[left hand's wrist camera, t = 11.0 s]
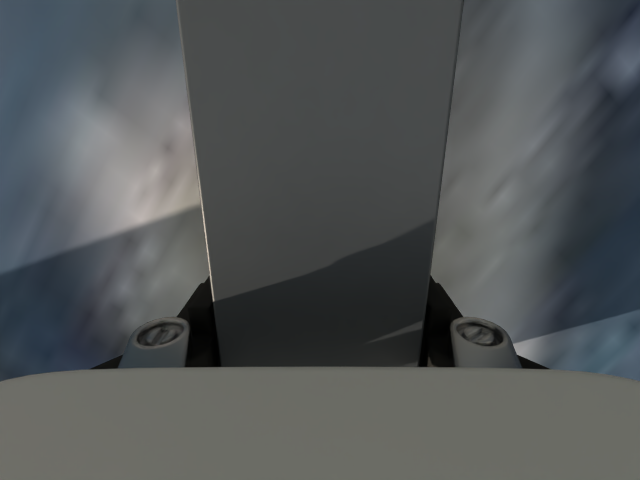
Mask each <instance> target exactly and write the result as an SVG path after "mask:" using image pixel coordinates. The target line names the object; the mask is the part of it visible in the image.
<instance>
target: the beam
mask: <svg viewBox="0 0 640 480" xmlns="http://www.w3.org/2000/svg"><path fill="white" fill-rule="evenodd" d="M463 3H464V0H176V6H177V14H178V22H179V30H180V38H181V46H182V55H183V63H184V71H185V79H186V87H187V95H188V103H189V111H190V119H191V128H192V136H193V144H194V152H195V160H196V168H197V176H198V184H199V193H200V201H201V209H202V217H203V225H204V233H205V241H206V249H207V257H208V266H209V274H210V282H211V290H212V298H213V306H214V314H215V322H216V330H217V339H218V347H219V355H220V363H221V367H419V361H420V353H421V345H422V336H423V328H424V320H425V312H426V304H427V296H428V288H429V280H430V271H431V263H432V255H433V247H434V239H435V231H436V223H437V215H438V206H439V198H440V190H441V182H442V174H443V166H444V158H445V149H446V141H447V133H448V125H449V117H450V109H451V101H452V93H453V84H454V76H455V68H456V60H457V52H458V44H459V36H460V27H461V19H462V11H463Z"/></svg>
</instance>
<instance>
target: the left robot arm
mask: <svg viewBox="0 0 640 480" xmlns="http://www.w3.org/2000/svg"><path fill="white" fill-rule="evenodd" d="M0 480H640V381H636V380H632V379H628V378H622V377H617V376H612V375H606V374H598V373H590V372H581V371H566V370H551V369H549V368H546V367H544V366H542V365H540V364H537V363H535V362H533V361H530V360H528V359H526V358H523V357H521V356H519V355H517V354H516V351H515V349H514V346H513V344H512V341H511V339H510V337H509V335H508V334H507V332H506V331H505V330H504V329H502V328H501V327H500V326H498V325H496V324H494V323H493V322H490V321H487V320H484V319H480V318H475V317H463V316H462V314H461V313H460V312H459V310H458V309H457V307H456V306H455V305H454V303H453V302H452V300H451V299H450V297H449V296H448V295H447V293H446V292H445V290H444V289H443V287H442V286H441V285H440V284H439V283H435V281H434V280H433V278H432V277H431V275H430V280H429V288H428V296H427V304H426V312H425V320H424V328H423V336H422V345H421V353H420V361H419V367H221V363H220V355H219V347H218V339H217V330H216V322H215V314H214V306H213V298H212V290H211V282H210V276H209V277H208V279H207V280H206V281H205V283H201V284H200V285H199V286H198V288H197V289H196V290H195V292H194V293H193V295H192V296H191V298H190V299H189V300H188V302H187V303H186V305H185V306H184V307H183V309H182V310H181V312H180V313H179V315H178V316H177V317H165V318H160V319H156V320H153V321H150V322H147V323H146V324H144V325H142V326H140V327H139V328H138V329H136V330H135V331H134V332H133V334H132V335H131V337H130V339H129V341H128V344H127V346H126V349H125V351H124V354H123V355H121V356H119V357H117V358H114V359H112V360H110V361H108V362H105V363H103V364H101V365H98V366H96V367H94V368H91V369H89V370H74V371H60V372H49V373H42V374H35V375H28V376H23V377H18V378H13V379H8V380H3V381H0Z"/></svg>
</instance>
